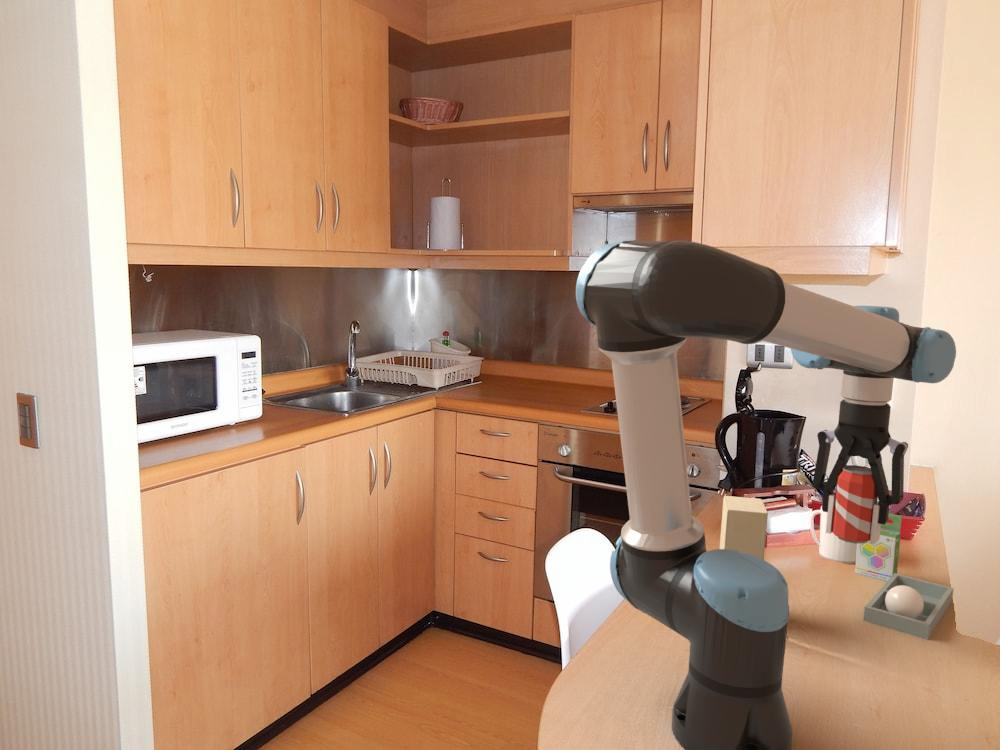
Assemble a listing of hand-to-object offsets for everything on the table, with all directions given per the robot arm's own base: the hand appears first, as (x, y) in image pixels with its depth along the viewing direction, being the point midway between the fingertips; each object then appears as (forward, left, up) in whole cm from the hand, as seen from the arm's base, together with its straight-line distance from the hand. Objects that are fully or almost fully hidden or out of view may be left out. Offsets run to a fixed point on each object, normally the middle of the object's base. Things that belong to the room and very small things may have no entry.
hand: (852, 536), depth 131 cm
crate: (+14, -7, -17) cm, 23 cm away
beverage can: (0, 0, -1) cm, 1 cm away
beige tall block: (-9, +15, -17) cm, 24 cm away
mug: (+34, +12, -17) cm, 40 cm away
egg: (+9, -7, -16) cm, 20 cm away
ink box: (+27, +2, -17) cm, 32 cm away
